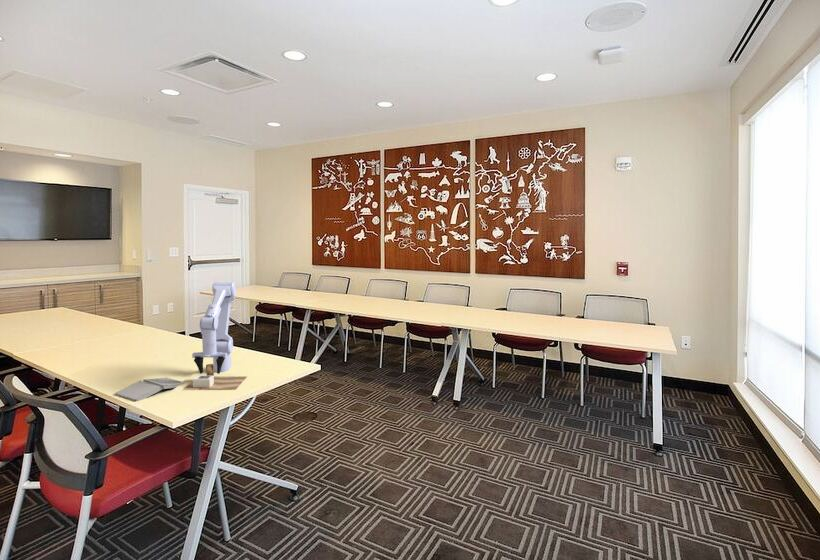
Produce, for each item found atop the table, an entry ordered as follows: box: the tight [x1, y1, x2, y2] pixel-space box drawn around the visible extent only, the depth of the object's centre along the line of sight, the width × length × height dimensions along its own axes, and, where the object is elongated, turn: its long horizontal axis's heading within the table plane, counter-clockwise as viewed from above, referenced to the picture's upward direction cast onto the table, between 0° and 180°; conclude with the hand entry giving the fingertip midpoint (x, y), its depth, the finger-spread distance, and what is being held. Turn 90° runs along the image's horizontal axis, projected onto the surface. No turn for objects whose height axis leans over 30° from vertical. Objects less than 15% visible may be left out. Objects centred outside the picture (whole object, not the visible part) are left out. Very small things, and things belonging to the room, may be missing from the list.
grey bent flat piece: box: [114, 376, 186, 402], centre depth 193 cm, size 23×15×4 cm, turn 152°
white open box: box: [192, 375, 215, 387], centre depth 196 cm, size 5×7×4 cm
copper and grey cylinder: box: [205, 363, 215, 376], centre depth 203 cm, size 3×3×7 cm
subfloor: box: [182, 375, 248, 391], centre depth 200 cm, size 18×22×1 cm
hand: (210, 373), depth 203 cm, fingers open, 7 cm apart
